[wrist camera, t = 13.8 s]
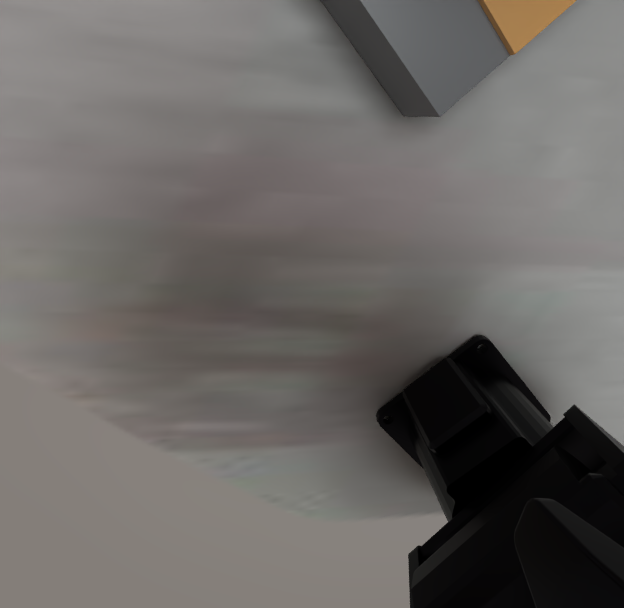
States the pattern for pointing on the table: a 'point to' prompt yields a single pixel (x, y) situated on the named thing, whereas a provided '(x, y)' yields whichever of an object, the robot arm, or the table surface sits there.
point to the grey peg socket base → (438, 43)
